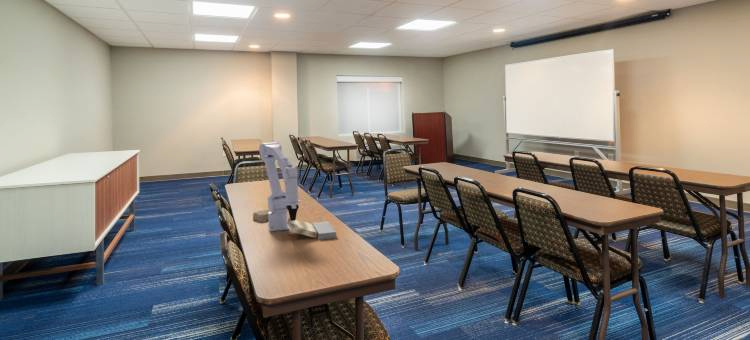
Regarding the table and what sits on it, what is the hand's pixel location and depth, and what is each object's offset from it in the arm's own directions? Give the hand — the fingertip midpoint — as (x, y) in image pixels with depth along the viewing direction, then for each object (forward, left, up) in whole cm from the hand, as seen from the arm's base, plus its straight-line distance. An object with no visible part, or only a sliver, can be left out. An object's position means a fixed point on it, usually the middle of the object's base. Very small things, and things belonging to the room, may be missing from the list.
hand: (293, 220), depth 202 cm
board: (+14, 0, -8) cm, 16 cm away
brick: (-9, +39, -8) cm, 41 cm away
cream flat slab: (+4, 0, -5) cm, 6 cm away
